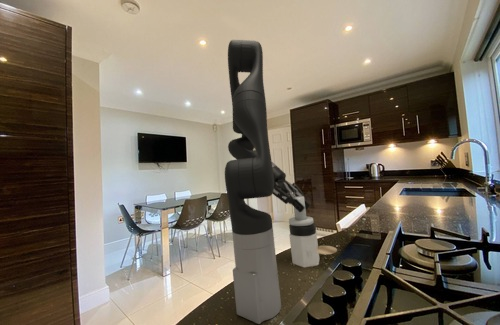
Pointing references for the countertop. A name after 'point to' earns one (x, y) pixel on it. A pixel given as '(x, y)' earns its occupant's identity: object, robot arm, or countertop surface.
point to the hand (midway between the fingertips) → (305, 208)
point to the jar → (304, 245)
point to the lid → (300, 215)
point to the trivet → (326, 249)
